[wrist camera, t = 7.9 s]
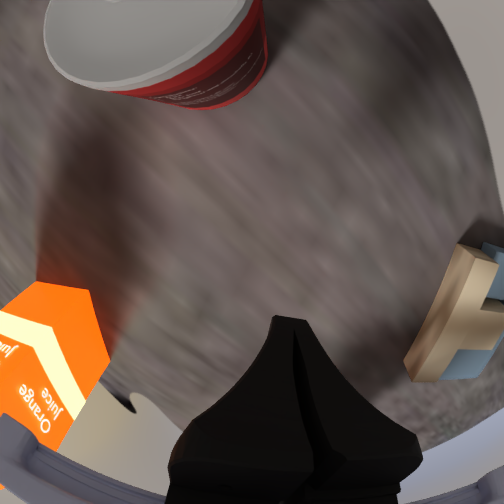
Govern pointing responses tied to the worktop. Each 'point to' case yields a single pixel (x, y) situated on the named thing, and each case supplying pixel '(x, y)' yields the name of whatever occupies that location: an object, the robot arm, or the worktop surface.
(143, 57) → the canned food
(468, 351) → the dock
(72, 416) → the orange juice
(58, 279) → the worktop surface
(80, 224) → the worktop surface
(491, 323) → the t block
